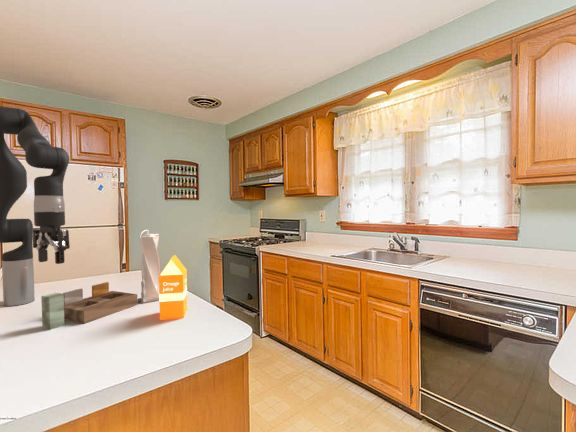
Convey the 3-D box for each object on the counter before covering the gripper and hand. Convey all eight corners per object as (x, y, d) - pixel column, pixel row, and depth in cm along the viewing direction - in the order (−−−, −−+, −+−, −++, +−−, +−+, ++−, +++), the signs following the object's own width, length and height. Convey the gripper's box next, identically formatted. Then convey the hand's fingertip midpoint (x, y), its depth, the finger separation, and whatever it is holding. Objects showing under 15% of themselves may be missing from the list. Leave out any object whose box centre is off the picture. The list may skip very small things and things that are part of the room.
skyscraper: (137, 298, 122) (135, 230, 121) (158, 295, 127) (156, 229, 126) (141, 303, 115) (140, 231, 115) (163, 299, 120) (162, 230, 119)
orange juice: (159, 320, 98) (157, 259, 98) (164, 311, 107) (163, 255, 106) (184, 318, 100) (183, 258, 99) (187, 309, 108) (186, 254, 108)
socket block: (57, 317, 101) (56, 294, 101) (112, 300, 120) (111, 280, 120) (84, 323, 96) (83, 298, 96) (137, 304, 114) (137, 283, 114)
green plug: (42, 327, 93) (41, 295, 93) (56, 323, 97) (55, 292, 96) (50, 329, 91) (49, 297, 91) (64, 324, 95) (63, 293, 95)
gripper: (21, 211, 92) (23, 263, 93) (50, 210, 87) (52, 266, 87) (49, 210, 99) (50, 259, 100) (77, 210, 94) (78, 261, 94)
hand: (51, 262), depth 93 cm, fingers open, 8 cm apart
